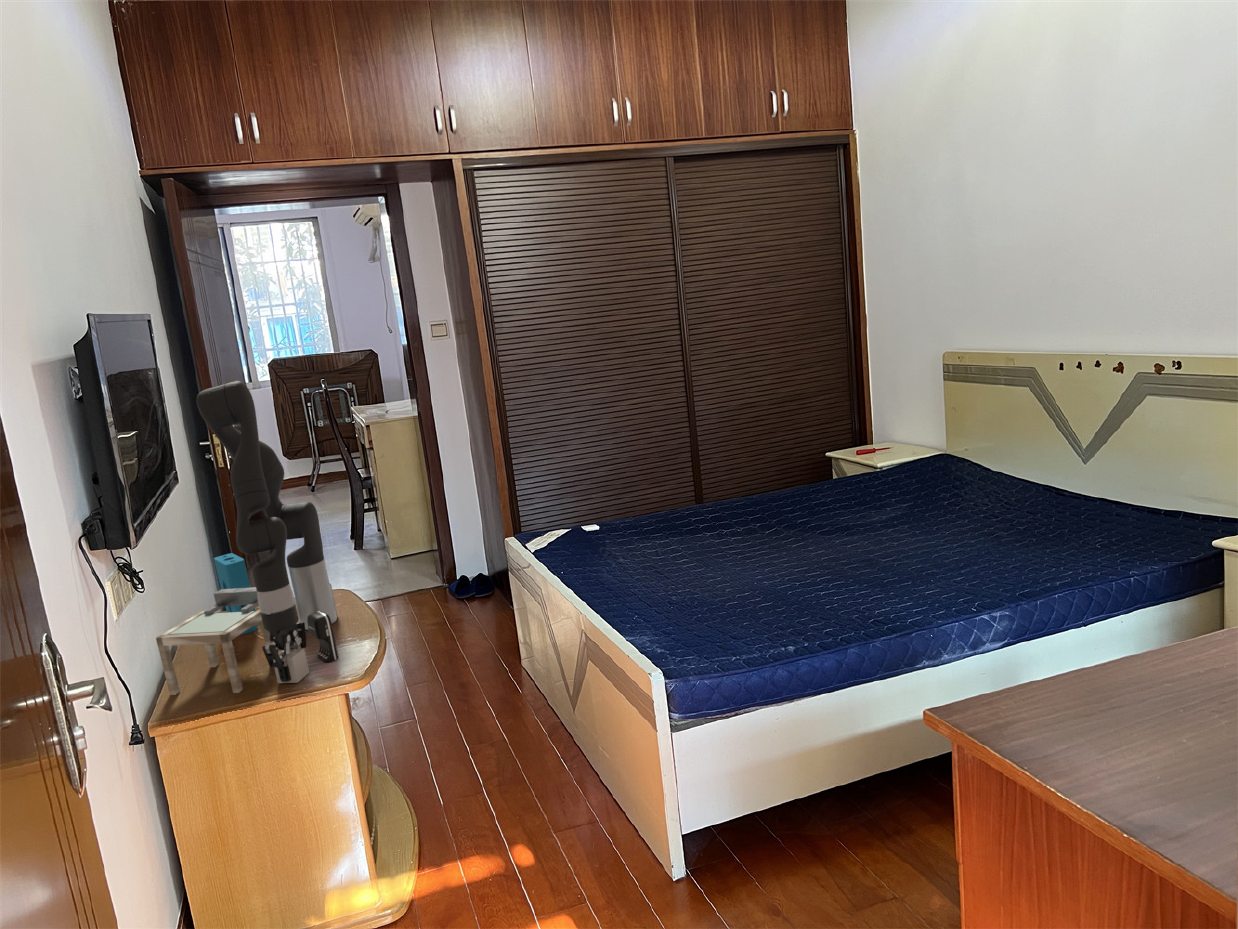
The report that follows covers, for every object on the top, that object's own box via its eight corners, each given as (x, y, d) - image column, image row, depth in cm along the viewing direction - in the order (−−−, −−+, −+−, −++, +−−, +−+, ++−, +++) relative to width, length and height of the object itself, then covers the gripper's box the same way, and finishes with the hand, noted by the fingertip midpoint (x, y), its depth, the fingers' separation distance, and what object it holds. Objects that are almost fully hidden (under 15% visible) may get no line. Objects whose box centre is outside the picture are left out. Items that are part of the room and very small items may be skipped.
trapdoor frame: (214, 664, 222) (201, 611, 219) (278, 662, 218) (266, 607, 215) (170, 695, 207) (155, 638, 204) (239, 692, 203) (225, 634, 200)
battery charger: (313, 658, 217) (303, 613, 215) (328, 652, 220) (319, 608, 217) (324, 665, 212) (314, 619, 210) (339, 659, 214) (330, 614, 212)
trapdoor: (223, 606, 224) (219, 589, 224) (273, 603, 221) (269, 586, 220) (170, 638, 206) (165, 620, 205) (224, 635, 203) (219, 617, 202)
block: (261, 630, 243) (245, 559, 239) (242, 637, 240) (225, 565, 236) (247, 621, 252) (231, 552, 248) (229, 627, 249) (212, 558, 245)
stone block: (289, 673, 210) (284, 649, 208) (309, 672, 208) (303, 648, 207) (277, 683, 205) (272, 658, 204) (297, 682, 204) (292, 657, 202)
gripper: (280, 594, 211) (295, 662, 214) (243, 618, 197) (260, 690, 200) (309, 593, 209) (323, 661, 212) (274, 617, 195) (290, 689, 199)
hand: (292, 675), depth 206 cm, fingers closed on stone block, 5 cm apart
